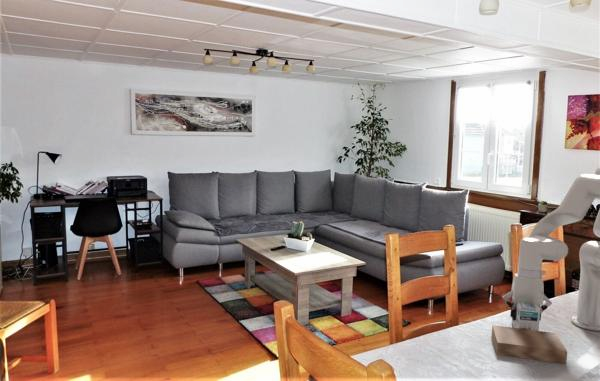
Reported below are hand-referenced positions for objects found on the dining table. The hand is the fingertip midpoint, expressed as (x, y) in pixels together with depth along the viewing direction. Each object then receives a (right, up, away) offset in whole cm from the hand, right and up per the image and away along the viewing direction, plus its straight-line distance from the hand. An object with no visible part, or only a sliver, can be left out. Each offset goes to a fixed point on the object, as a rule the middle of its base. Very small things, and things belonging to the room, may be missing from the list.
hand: (525, 320), depth 167 cm
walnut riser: (-6, -6, -14) cm, 17 cm away
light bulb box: (0, -4, +1) cm, 4 cm away
